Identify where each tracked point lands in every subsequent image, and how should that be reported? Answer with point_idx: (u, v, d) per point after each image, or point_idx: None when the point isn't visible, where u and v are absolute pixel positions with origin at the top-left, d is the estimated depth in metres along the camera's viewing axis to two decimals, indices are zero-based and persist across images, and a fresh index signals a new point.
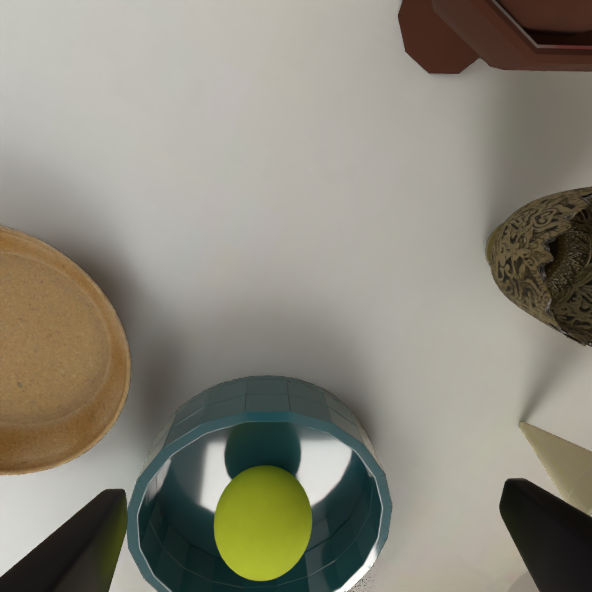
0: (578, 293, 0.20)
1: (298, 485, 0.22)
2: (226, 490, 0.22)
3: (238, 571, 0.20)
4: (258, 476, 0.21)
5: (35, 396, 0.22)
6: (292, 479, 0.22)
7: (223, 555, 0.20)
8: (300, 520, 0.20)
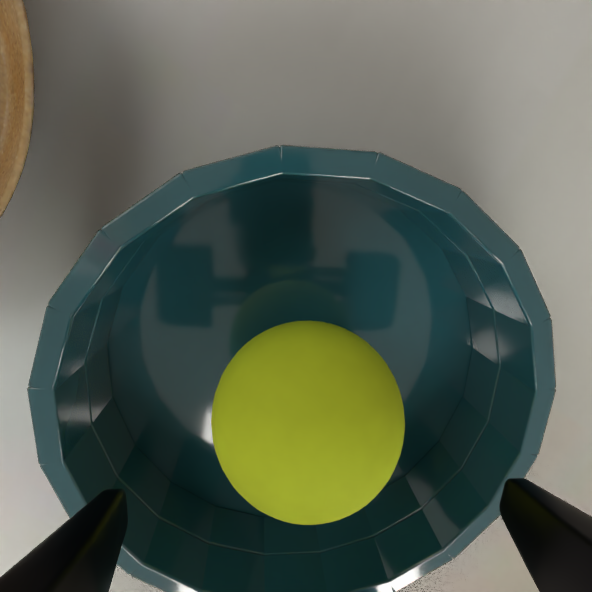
0: None
1: (374, 349, 0.11)
2: (236, 354, 0.11)
3: (264, 500, 0.09)
4: (300, 325, 0.11)
5: None
6: (362, 339, 0.11)
7: (231, 469, 0.09)
8: (392, 399, 0.10)
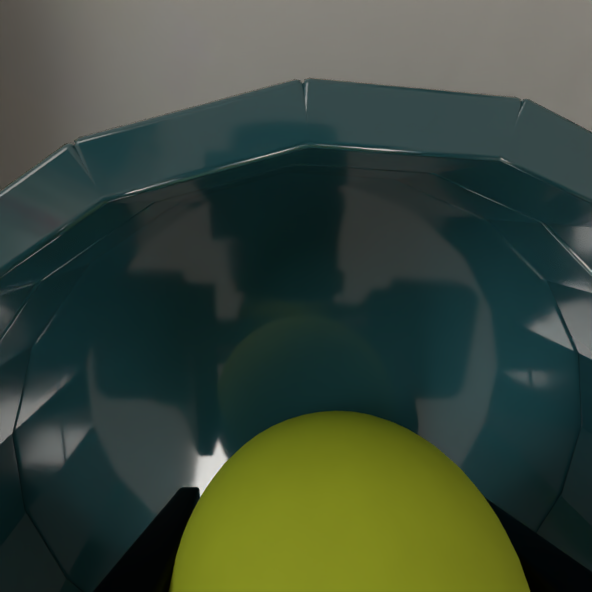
0: None
1: (462, 471, 0.06)
2: (213, 488, 0.06)
3: None
4: (333, 438, 0.06)
5: None
6: (439, 451, 0.06)
7: None
8: None
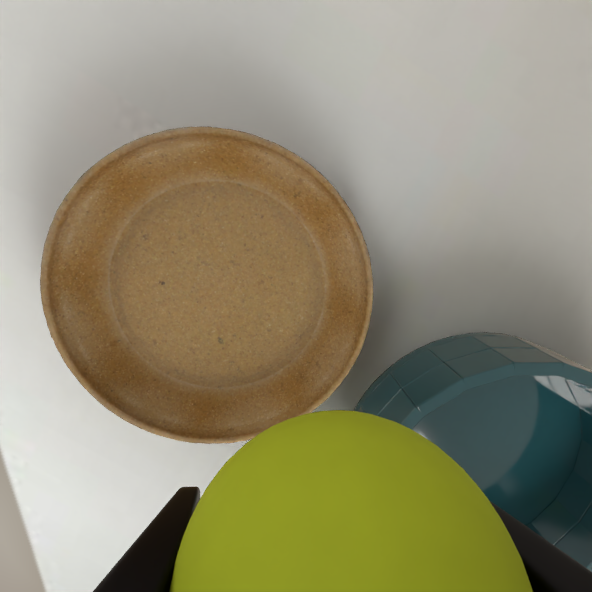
0: None
1: (464, 471, 0.06)
2: (215, 487, 0.06)
3: None
4: (334, 437, 0.06)
5: (235, 354, 0.19)
6: (441, 450, 0.06)
7: None
8: None
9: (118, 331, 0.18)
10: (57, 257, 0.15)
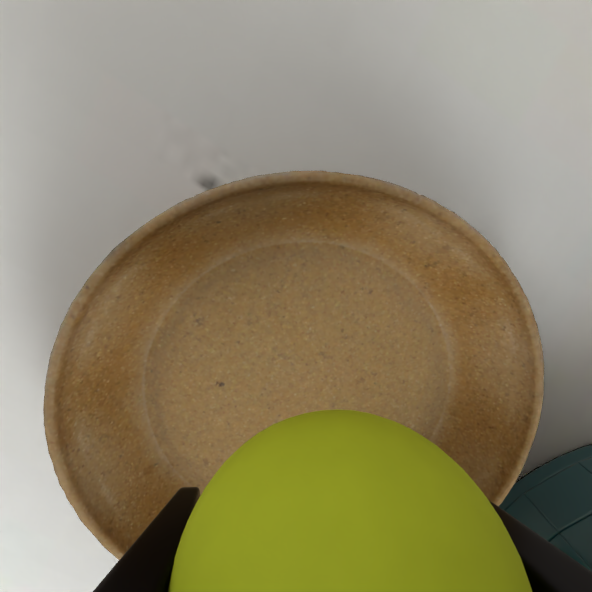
0: None
1: (463, 470, 0.06)
2: (213, 486, 0.06)
3: None
4: (333, 436, 0.06)
5: None
6: (440, 450, 0.06)
7: None
8: None
9: (155, 449, 0.13)
10: (71, 369, 0.10)
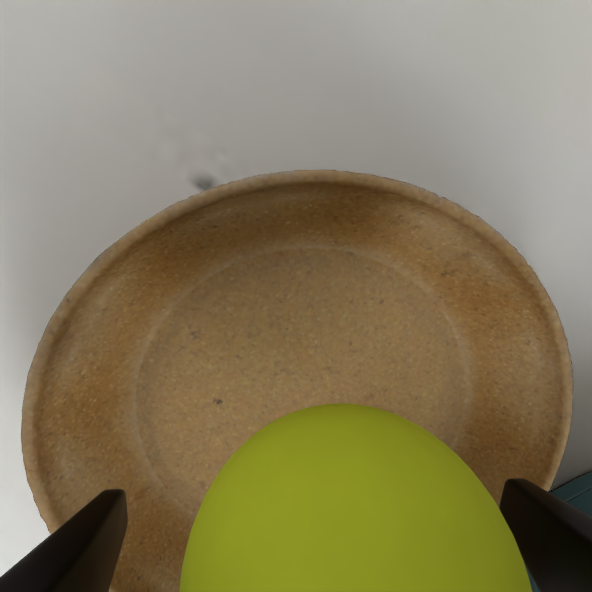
0: None
1: (459, 457, 0.07)
2: (223, 478, 0.06)
3: None
4: (337, 426, 0.06)
5: None
6: (437, 438, 0.07)
7: None
8: (525, 588, 0.05)
9: (147, 471, 0.12)
10: (51, 389, 0.09)
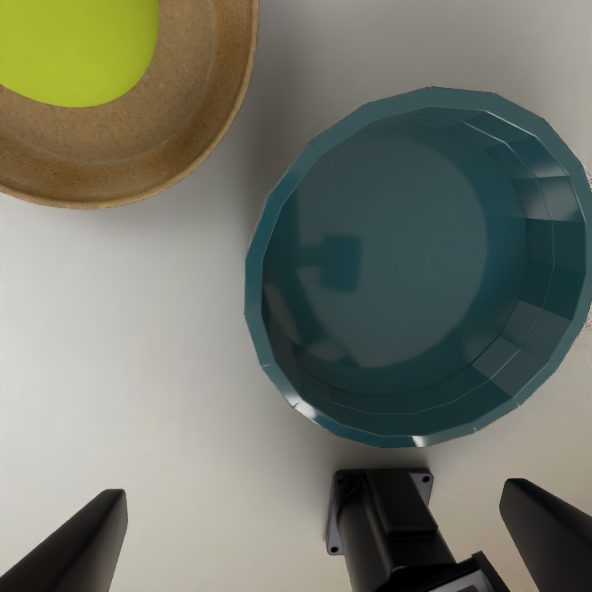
0: None
1: None
2: None
3: None
4: None
5: (106, 116, 0.16)
6: None
7: None
8: None
9: None
10: None
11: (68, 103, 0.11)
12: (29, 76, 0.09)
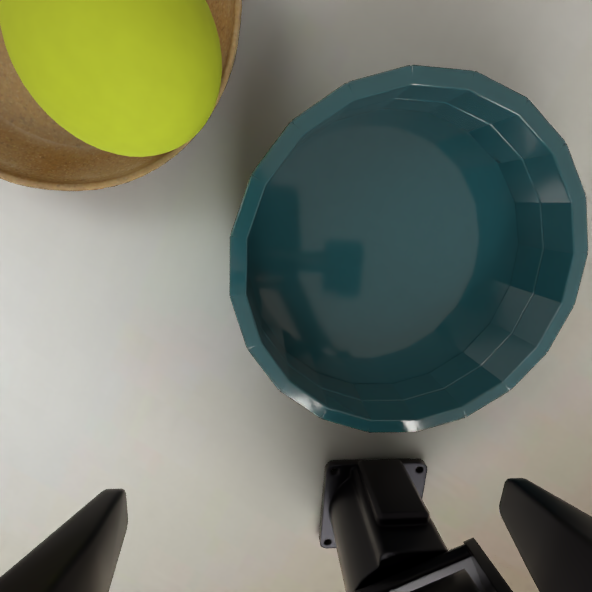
0: None
1: None
2: (75, 0, 0.08)
3: (159, 150, 0.12)
4: None
5: None
6: None
7: (132, 139, 0.11)
8: None
9: None
10: None
11: None
12: None
